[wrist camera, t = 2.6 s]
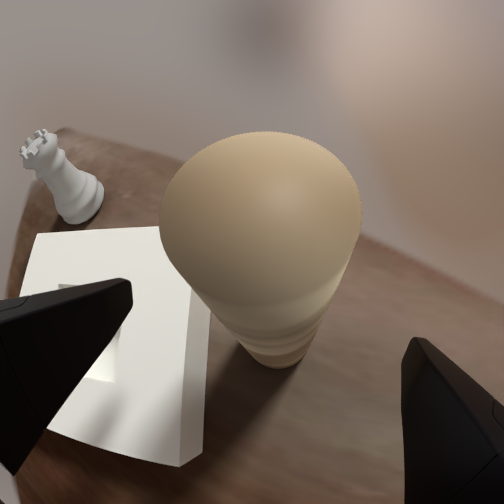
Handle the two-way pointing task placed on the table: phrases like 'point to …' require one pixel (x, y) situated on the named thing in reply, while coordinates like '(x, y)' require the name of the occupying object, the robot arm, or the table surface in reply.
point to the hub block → (132, 346)
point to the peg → (263, 237)
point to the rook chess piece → (63, 178)
